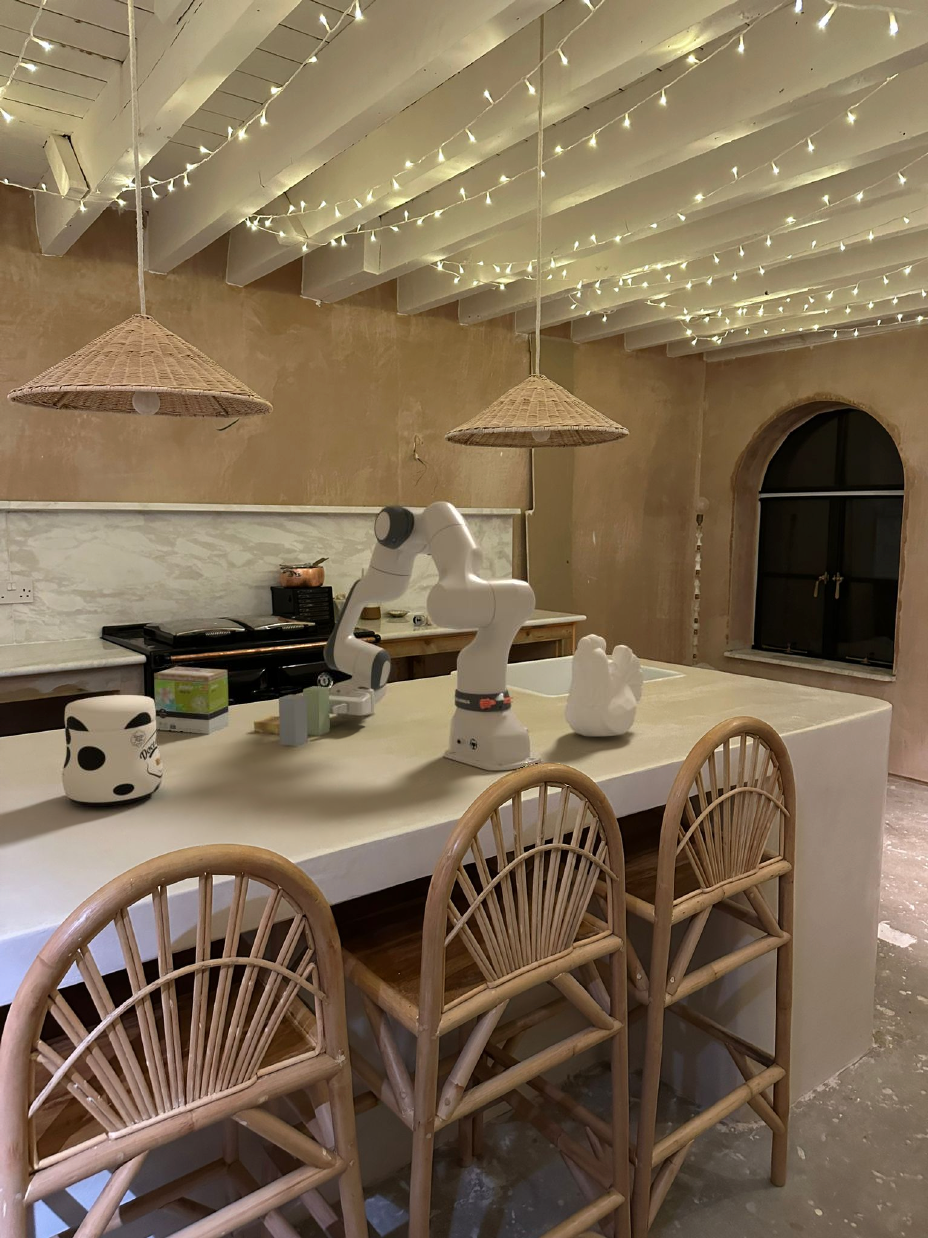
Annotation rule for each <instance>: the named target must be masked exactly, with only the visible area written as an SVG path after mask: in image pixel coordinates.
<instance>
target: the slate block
mask: <svg viewBox="0 0 928 1238" xmlns="http://www.w3.org/2000/svg"><path fill="white" fill-rule="evenodd" d="M278 717H279V730H280V734H279V745H280V746H287V745H290V746H289V747H295V746H296V747H299V746H301V745H304V744H306V743H308V734H307V703H306V696H301V695H296V694H291V693H290V694H288V695H284V696H282V697H281V696H280V697H279V698H278ZM303 743H304V744H303ZM298 745H299V746H298Z"/></svg>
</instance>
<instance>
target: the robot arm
mask: <svg viewBox="0 0 928 1238" xmlns="http://www.w3.org/2000/svg"><path fill="white" fill-rule="evenodd" d="M373 529H374V535H375V536H374V537H375V539H376V542H375V546H374V548H373V552H372V554H371V558H370V562H369V565H368V569H367V572H365V575H364V576H363V577H362V578H359V579H357V580H356V581H354V583H353V584H352V586H351V588H350V590H349V592H348V594H347V596H346V599H345V601H344V603H343V606H342V608H341V611H340V614H339V616H338V618H337V621H336V623H335V626H334V628H333V630H332V632H331V634H330V636H329V638H328V640H327V641H326V644H325V645H324V648H323V658H324V661H325V664H326V665H327V667H328V668H329V669H331V670H336V671H339V672H342V673H345V674H347V675H351V678H350V679H347V680H344V681H341V682H337V683H335V684H333V685H332V686H331V687H329V715H337V716H339V717H343V718H344V717H348V716H365V715H373V714H374V713H375V706H376V705H377V704H378V703H380V702H381V701H382V699H384V697H385V696H386V694H387V689H388V685H387V683H388V681H389V679H390V676H391V672H392V668H393V667H392V660H391V656H390V654H389V652H388V650H387V649H384V648H383V647H379V646H377V645H375V644H373V643H369V642H366V641H365V640H362V639H359V638H356V636H355V635H354V632H355V628H356V626H357V624H358V621H359V619H360V617H361V613H362V612H363V610H364V608H365V607H366V606H367V605H370V604H385V603H390V602H394V601H397V600H398V599H400V598H401V597H403V596H404V595H405V594H406V592H407V590H408V588H409V586H410V582H411V579H412V574H413V569H414V565H415V559H416V558H417V556H418V555H422V554H423V555H427V556H431V558H432V561H433V562H434V565H435V567H436V570H437V572H438V580H437V582H436V583H435V584H434V585H433V586H432V587H431V589H430V590H429V592H428V595H427V599H426V610H427V614H428V616H429V618H430V620H431V622H432V623H433V624H434V625H435V626H436V627H439V628H442V629H449V630H450V629H451V630H459V631H460V630H471V629H474V630H475V629H477V632H476V634H475V637H474V638H473V640H472V641H471V642H470V643H469V644H468V645H467V646H465V647H464V648H462V649H461V651H460V652H459V654H458V656H457V659H456V688H455V691H454V706H455V707H456V709H455V711H454V714H453V716H452V717H451V719H450V727H449V736H448V737H449V738H448V739H449V741H448V749H447V750H445V751H444V754H443V755H444V756H443V757H444V758H445V759H450V760H452V761H453V760H454V761H457V762H460V763H462V764H463V763H464V764H466V765H470V766H474V767H477V768H479V769H484V770H486V771H509V770H516V769H521V768H520V767H522V766H526V765H531V764H534V763H538V764H540V763H541V762H542V757H541V756H540V755H538V754H536V753H535V752H534V751H532V750H531V740H530V735H529V729H528V728H527V727H526V726H524V725H523V724H522V723H521V721H520V720H519V718H518V716H517V715H516V714H515V713H514V712H513V710H512V703H514V701H513V699H514V697H513V696H510V693H509V689H507V683H508V682H507V681H508V680H507V679H508V678H507V677H508V663H509V662H508V659H509V656H510V655H509V653H510V649H511V647H512V643H513V642H514V639H515V637H516V635H517V634H518V632H519V630H520V629H521V628H522V627H523V625H524V624H525V623H526V622H527V621H529V620H530V619H531V617H532V616H533V615H534V611H535V608H536V595H535V593H534V590H533V588H532V587H531V585H530V583H528V582H527V581H525V580H521V579H516V578H512V577H484V578H483V577H478V576H477V575H478V574H479V572H480V571H481V570H482V569H483V568H482V567H483V565H484V559H485V555H484V551H483V549H482V547H481V545H480V544H479V541H478V540H477V537H476V536H475V534H474V532H473V530H472V529H471V527H470V525H469V523H468V522H467V520H466V519H465V517H464V516H463V515H462V514H461V512H460V510H458V509H457V508H456V507H455V505H454V504H452V503H450V502H447V501H440V500H439V501H434V502H433V503H431V504H429V505H428V506H426V508H422V507H414V506H412V507H411V506H402V505H389V506H385V507H383V508H382V509H381V510H380V511H379V512H378V514H377V515H376V518H375V521H374V528H373ZM295 695H301V696H303V692H300V693H296V694H295Z"/></svg>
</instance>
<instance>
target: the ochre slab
mask: <svg viewBox="0 0 928 1238" xmlns="http://www.w3.org/2000/svg"><path fill="white" fill-rule="evenodd" d="M253 731H261V732H260V733H263V732H267V733H266V734H271V733H275V734H274V735H280V734H279V733H280V730H279V715H278V716H277V715H270V716H267V717H263V718H261V719H258V720H254V721H253Z"/></svg>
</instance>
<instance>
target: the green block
mask: <svg viewBox="0 0 928 1238" xmlns="http://www.w3.org/2000/svg"><path fill="white" fill-rule="evenodd" d="M302 689H303V688H302ZM329 690H330V687H327V686H326V687H325V686H315V685H313V686H310V687H306V688H304V689H303V690H302V693H303V696H306V703H307V735H313V736H320V737H321V736H322V735H324V734H327V733H329V732H331V731H330V729H331V728H330V727H331V726H330V713H329Z"/></svg>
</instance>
